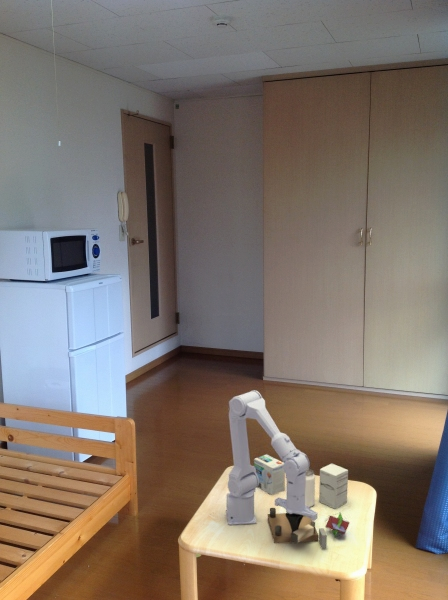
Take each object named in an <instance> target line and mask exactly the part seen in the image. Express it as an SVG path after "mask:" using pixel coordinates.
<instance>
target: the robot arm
mask: <svg viewBox="0 0 448 600" xmlns="http://www.w3.org/2000/svg"><path fill="white" fill-rule="evenodd" d="M228 406H229V411H228V419H229V421H228V422H229V430H230V440H231V449H232V451H231V452H232V457H233V459H232V460H233V467H232V468H231V470H230V472H229V473H228V481H227V488H228V491H229V492H228V493H226V510H225V516H226V517H227V525H229V526H232V525H249V524H250V525H251V524H257V523H258V522H257V518H256V513H255V493H256V489H257V488H258V485H259V479H258V476H257V474H256V468H255V467H254V465H251V459H250V449H249V437H248V430H247V421H246V420H247V419H251V420H256V421H257V423H258V424H259V425H260V426H261V427H262V428H263V430H264V431H265V432H266V433H267V436H269V438H271V442H270V445H271V447H272V448H273V450H274V451H275V452H276V454H277V456H278V457H279V459H280V461H281V462H283V463H284V465H283V469H284V472H285V479H286V497H285V498H281V497H277V498H275V499H274V506H276V507H282V508H283V509H284V510H285V513H286V517H287V519H288V521H289V523H290V526H291V529H292V532H294V531H296V530H298V529H299V525H300V522H301V520H302V518H303V517H304V516H306V517H308V518H311V520H312V521H314V522H316V521H317V519H318V512H316V511H315V510H313V509H312V508H311V507H307V506H306V505H305V480H306V472H304V471H306V470H307V469H310V466H311V465H310V460H309V458H308V455H307V454H305V453H304V452H303V451H301V450H300V449H297V448H296V446H295V445H294V443H293V442H292V441H291V438H290V436H289V435H287V433H285V432H284V433H283V432H281V431H280V429H279V428H278V426H277V425H276V422H275V421H274V420H273V418H272V416H271V415H270V413H269V411H268V409H267V408H266V400H265V399H264V398H263V396H262V395H261V393H260V392H259V391H258V390H254V389H253V390H250V391H248V392H246V393H242V394H240V395H236V396H233V397H232V398H231V399H230V400H229V401H228Z"/></svg>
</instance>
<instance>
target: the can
mask: <svg viewBox="0 0 448 600" xmlns="http://www.w3.org/2000/svg"><path fill="white" fill-rule="evenodd" d="M304 472H306V480H305V505H306V506H307V507H309V508H312V507H313V506H315V502H316V501H315V499H316V475H315V472H314V470H312V469H310V468H308V469H307V470H306V471H304Z"/></svg>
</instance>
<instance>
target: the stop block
mask: <svg viewBox="0 0 448 600" xmlns="http://www.w3.org/2000/svg"><path fill="white" fill-rule="evenodd" d="M318 535H319V538H318V543H319V546H320V548H321V550H327V547H328V545H327V543H328V542H327V540H328V537H327V536H328V535H327V533H326V531H325V528H324V527H319V528H318Z"/></svg>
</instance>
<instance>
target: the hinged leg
mask: <svg viewBox="0 0 448 600" xmlns="http://www.w3.org/2000/svg"><path fill="white" fill-rule="evenodd" d="M315 528H316V521H311V525H309V524H308V525H306V526H304V527H302V528H300V529H298V530H296V531H294V532H292V533H291V541H292V542H291V543H294V544H298V543H301V542H300V541H302V540H304V539H306V538H308V537H309V536H311V535H313V534H314V533H315Z"/></svg>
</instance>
